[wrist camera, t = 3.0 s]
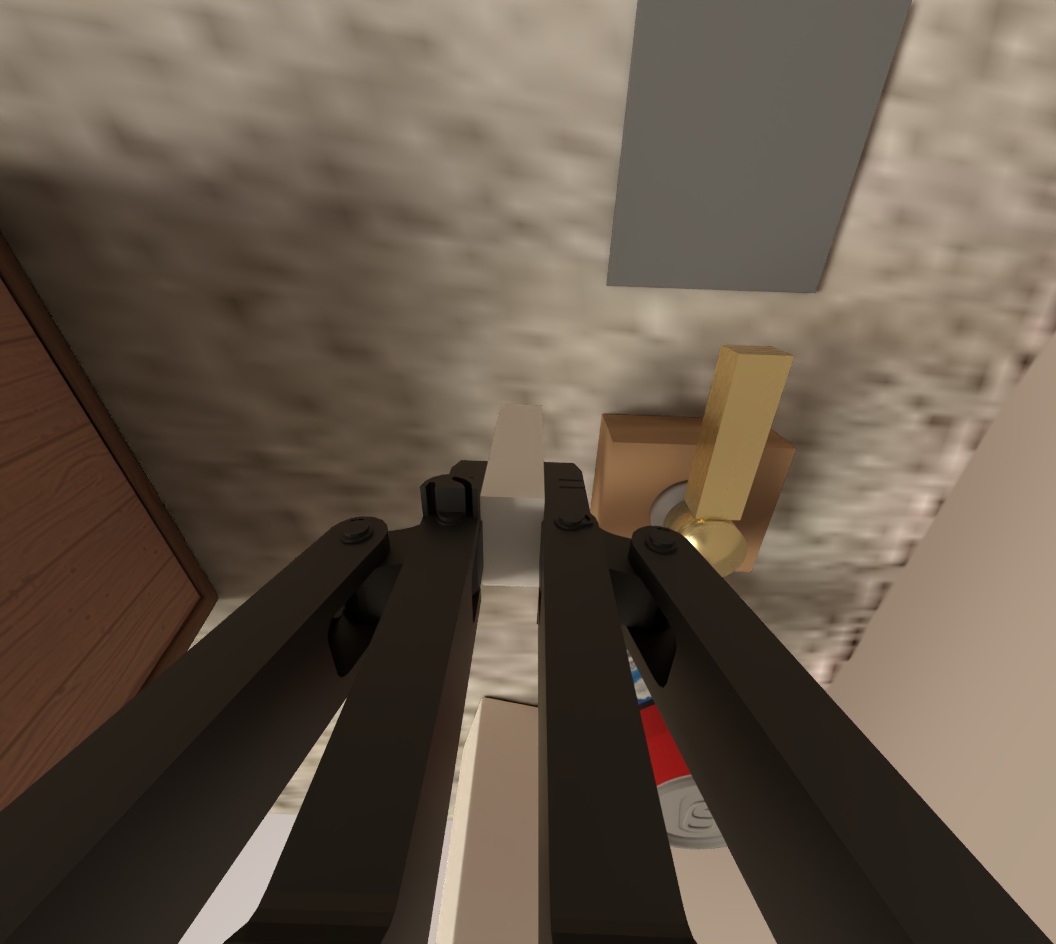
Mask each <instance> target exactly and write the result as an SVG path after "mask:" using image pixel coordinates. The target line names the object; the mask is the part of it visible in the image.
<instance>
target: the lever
mask: <svg viewBox="0 0 1056 944" xmlns="http://www.w3.org/2000/svg"><path fill="white" fill-rule="evenodd" d="M793 359H794V356H793V355H791V354H788V353H786V352H783V351H781V350H779V349H776V348H774V347H770V346H742V345H721V348H720V352H719V356H718V361H717V365H716V369H715V373H714V377H713V381H712V385H711V389H710V393H709V397H708V401H707V406H706V410H705V414H704V418H703V422H702V426H701V430H700V434H699V438H698V442H697V446H696V450H695V455H694V459H693V463H692V467H691V471H690V475H689V479H688V483H687V487H686V491H685V495H684V501H682V502H680V503H678V504H677V505H675V506H674V507H673V508H672V509H671V510H670V511H669V512H668V514H667V515H666V517H665V519H664V522H663V527H666V528H670V529H672V530H674V531H676V532H679V533H680V534H682V535H683V536H684V537H685V538H687V539H688V540H689V541H690V542H691V543H692V545H693V546H694V547H695V548H696V549H697V550H698V551H699V552H700V553H701V555H702V556H703V557H704V558H705V559H706V560H707V561H708V562H709V563H710V564H711V566H712V567H713V568H714V569H715V570H716V571H717V572H718V573H719V574H720V576H721V577H725V576H727V575H729V574H731V573H732V572H734V571H735V570H736V569H737V568H738V567H739V566H740V565H741V564H742V563H743V561H744V560H745V557H746V555H747V543H746V540H745V538H744V537H743V536H742V534H741V533H740V531H739V530H738V529H737V527H736V526H735V524H734V523H733V522H732V520H741V517H742V513H743V510H744V507H745V504H746V501H747V498H748V495H749V492H750V489H751V486H752V483H753V480H754V477H755V474H756V471H757V468H758V465H759V462H760V459H761V456H762V453H763V450H764V447H765V444H766V441H767V438H768V435H769V432H770V429H771V425H772V422H773V419H774V416H775V413H776V410H777V407H778V404H779V401H780V398H781V395H782V392H783V389H784V386H785V383H786V380H787V377H788V374H789V371H790V368H791V365H792V362H793Z"/></svg>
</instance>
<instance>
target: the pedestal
mask: <svg viewBox="0 0 1056 944" xmlns="http://www.w3.org/2000/svg"><path fill="white" fill-rule="evenodd" d="M702 422H703V418H701V417H673V416H645V415H617V414H602V419H601V427H600V435H599V443H598V452H597V460H596V468H595V476H594V484H593V493H592V501H591V509H590V513H591V514H592V515H593V516H595V518H596V519H597V521H598V523H599V527H600V528H601V529H603V530H605V531H607V532H609V533H612V534H615V535H619V536H623V537H627V538H632V534H633V532H634V531H636V530H637V529H638V528H641V527H644V526H662V527H663V522H664V519H665V517H666V515H667V514H668V512H669V511H670V510H671V509H672V508H673V507H674V506H675V505H677V504H678V503H680V502H682V501H684V495H685V491H686V487H687V483H688V479H689V475H690V471H691V467H692V463H693V459H694V455H695V450H696V446H697V442H698V438H699V434H700V430H701V426H702ZM795 452H796V448H795V447H794V446H793V445H791V444H790V443H789V442H787V441H786V440H785V439H783V438H782V437H781V436H780V435H778V434H777V433H776V432H774V431H773V430H772V429H770V432H769V435H768V438H767V441H766V444H765V447H764V450H763V453H762V456H761V459H760V462H759V465H758V468H757V471H756V474H755V477H754V480H753V483H752V486H751V489H750V492H749V495H748V498H747V501H746V504H745V507H744V510H743V513H742V517H741V520H732V522H733V523H734V524H735V526H736V527H737V529H738V530H739V531H740V533H741V534H742V536H743V537H744V538H745V540H746V543H747V555H746V557H745V560H744V561H743V563H742V564H741V565H740V566H739V567H738V568H737V569H736V570H735V571H739V572H751V571H752V568H753V565H754V563H755V560H756V557H757V555H758V552H759V549H760V546H761V544H762V541H763V538H764V536H765V533H766V530H767V528H768V525H769V522H770V519H771V517H772V514H773V511H774V509H775V506H776V503H777V501H778V498H779V495H780V492H781V490H782V487H783V484H784V482H785V479H786V476H787V474H788V471H789V468H790V466H791V463H792V460H793V457H794V455H795Z"/></svg>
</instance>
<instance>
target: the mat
mask: <svg viewBox="0 0 1056 944" xmlns="http://www.w3.org/2000/svg"><path fill="white" fill-rule="evenodd" d="M911 2H912V0H638V3H637V12H636V21H635V30H634V39H633V48H632V57H631V66H630V75H629V85H628V94H627V103H626V112H625V121H624V130H623V139H622V148H621V157H620V166H619V175H618V184H617V194H616V203H615V212H614V221H613V230H612V239H611V248H610V257H609V266H608V275H607V284H606V285H607V286H628V287H657V288H685V289H713V290H741V291H769V292H797V293H816V290H817V287H818V284H819V281H820V278H821V275H822V272H823V269H824V266H825V263H826V260H827V257H828V254H829V251H830V248H831V245H832V242H833V239H834V236H835V233H836V230H837V227H838V224H839V220H840V217H841V214H842V211H843V208H844V205H845V202H846V199H847V196H848V193H849V190H850V187H851V184H852V181H853V178H854V175H855V172H856V169H857V166H858V163H859V160H860V157H861V154H862V151H863V148H864V145H865V142H866V139H867V136H868V133H869V130H870V127H871V123H872V120H873V117H874V114H875V111H876V108H877V105H878V102H879V99H880V96H881V93H882V90H883V87H884V84H885V81H886V78H887V75H888V72H889V69H890V66H891V63H892V60H893V57H894V54H895V51H896V48H897V45H898V42H899V39H900V36H901V33H902V30H903V26H904V23H905V20H906V17H907V14H908V11H909V8H910V5H911Z"/></svg>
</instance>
